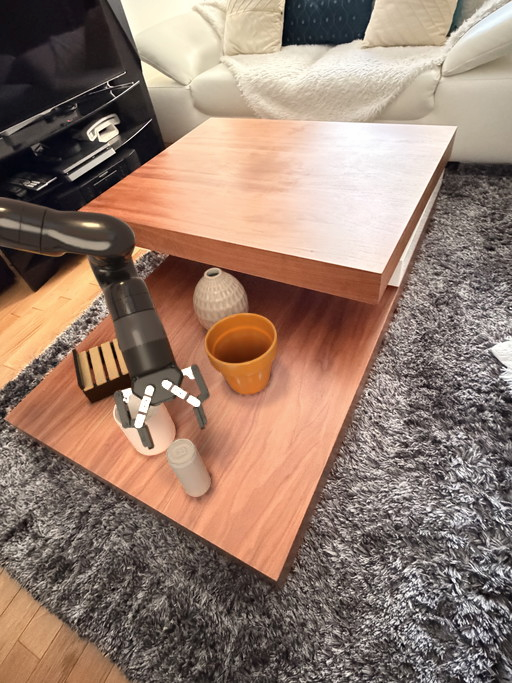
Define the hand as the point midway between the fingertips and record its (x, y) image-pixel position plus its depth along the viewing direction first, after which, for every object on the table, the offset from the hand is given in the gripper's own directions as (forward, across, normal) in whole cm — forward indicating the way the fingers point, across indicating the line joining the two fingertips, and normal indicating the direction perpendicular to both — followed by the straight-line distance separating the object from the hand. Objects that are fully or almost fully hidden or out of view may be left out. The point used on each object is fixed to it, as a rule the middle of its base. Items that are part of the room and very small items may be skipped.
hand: (177, 438), depth 62 cm
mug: (0, +7, -17) cm, 18 cm away
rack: (-14, +12, -30) cm, 35 cm away
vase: (-16, -16, -33) cm, 40 cm away
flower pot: (-3, -16, -20) cm, 26 cm away
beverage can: (+10, 0, -6) cm, 12 cm away
